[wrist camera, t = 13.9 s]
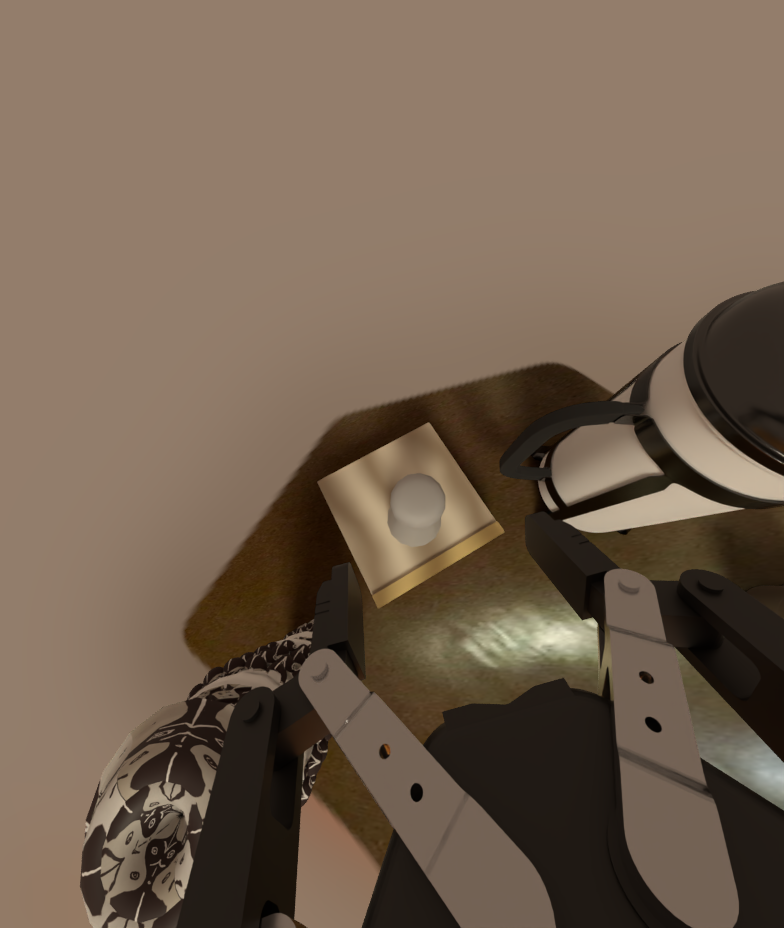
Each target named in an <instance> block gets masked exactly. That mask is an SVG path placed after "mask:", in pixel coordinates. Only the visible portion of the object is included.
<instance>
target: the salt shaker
mask: <svg viewBox="0 0 784 928" xmlns="http://www.w3.org/2000/svg"><path fill="white" fill-rule="evenodd" d="M445 498H446V496H445V494H444V491H443V489H442V487H441V485H440V484H439V483H438V482H437V481H436V480H435V479H434V478H432V477H431V476H428V475H425V474H421V473H416V474H409V475H407V476H405V477H404V478H402V479H401V480H399V481H398V482H397V484H396V485H395V487H394V489H393V490H392V492H391V499H390V506H391V507H390V509H389V510H388V521H387V523H388V526H389V529H390V532H391V535H392V536H394V537H395V538H396V539H397V540H398V541H399V542H400V543H402V544H405V545H408V546H411V547H417V546H423V545H426V544H427V543H429V542H430V541H432V540H433V539H434V538H435V537H436V535H437V534H438V532H439V530H440V528H441V516H442V514H443V512H444V510H445Z"/></svg>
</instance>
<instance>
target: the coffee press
mask: <svg viewBox="0 0 784 928" xmlns="http://www.w3.org/2000/svg"><path fill="white" fill-rule="evenodd" d="M636 379H637V380H636ZM632 382H633V383H632ZM631 383H632V384H631ZM626 387H627V388H626ZM625 388H626V389H625ZM621 391H622V392H621ZM620 392H621V393H620ZM615 396H616V397H615ZM610 400H611V401H610ZM577 427H578V428H577ZM569 429H572V430H570V431H569V432H568V433H567V434H565V435H564V436H563V437H562V438H561V439H559V440H558V441H557V442H556V443H554V444H553V445H551V446H541V445H542V444H544V443H545V442H546V441H547V440H548V439H550V438H551V437H553V436H555V435H557V434H559V433H561V432H564V431H566V430H569ZM573 430H574V431H573ZM572 431H573V432H572ZM567 435H568V436H567ZM566 436H567V437H566ZM562 439H563V440H562ZM561 440H562V441H561ZM550 449H551V450H550ZM549 450H550V451H549ZM547 451H549V452H548V453H547V454H544V453H545V452H547ZM530 455H531V456H532V457H533V458H534V459H536V460H539V461H542V462H541V464H540V467H539V468H538V467H525V466H520V464H521V463H522V462H523V461H525V460H526V459H527V458H528V457H529V456H530ZM500 472H501V473H502V474H503V475H505V476H507V477H511V478H517V479H527V480H538V485H539V490H540V493H541V496H542V498H543V500H544V502H545V504H546V505H547V507H548V508H549V509H550V511H548V512H547V514H548V515H549V516H550V517H551V518H552V519H553V520H554V521H555V520H559V519H560V520H562V521H564V522H566V523H568V524H570V525H572V526H573V527H574V528H576V529H579V530H582V531H587V532H595V533H601V532H610V531H617V532H619V533H621V534H624V535H626V534H627V533H628V532H629V531H630V530H631V529H632V528H635V527H641V526H647V525H653V524H658V523H664V522H670V521H676V520H682V519H688V518H694V517H699V516H705V515H711V514H717V513H723V512H729V511H735V510H740V509H768V508H775V507H781V506H784V282H780V283H777V284H773V285H770V286H767V287H764V288H762V289H759V290H757V291H752V292H747V293H743V294H740V295H737V296H734V297H732V298H730V299H728V300H726V301H724V302H722V303H720V304H719V305H717V306H716V307H715V308H713V309H712V310H711V311H710V312H709V313H707V315H705V316H704V317H703V318H702V319H701V320H700V321H699V322H698V323H697V324H696V325H695V326H694V328H693V329H692V331H691V332H690V334H689V336H688V338H687V339H686V340H685V341H683V342H681V343H679V344H677V345H675V346H674V347H672V348H670V349H669V350H667V351H666V352H665V353H664V354H662V355H661V356H660V357H659V358H657V359H656V360H655V361H654V362H653V363H651V364H650V365H649V366H648V367H647V368H645V369H644V370H643V371H642V372H641V373H640V374H638V375H637V376H636V377H634V378H633V379H632V380H631V381H629V383H627V384H626V385H625V386H623V387H622V388H621V389H620V390H619V391H617V392H616V393H615V394H614V395H613V396H611V397H610V398H609V399H608V400H607V401H598V402H588V403H582V404H577V405H572V406H568V407H565V408H562V409H559V410H556V411H554V412H551V413H549V414H547V415H545V416H543V417H541V418H539V419H538V420H536V421H535V422H533V423H532V424H531V425H530V426H529V427H527V428H526V429H525V430H524V431H523V432H522V433H521V435H520V436H519V437H518V438H517V439H516V440H515V441H514V442H513V443H512V445H511V446H510V447H509V448H508V449H507V450H506V452H505V453H504V454H503V455H502V457H501V459H500Z"/></svg>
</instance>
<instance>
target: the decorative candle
mask: <svg viewBox="0 0 784 928" xmlns="http://www.w3.org/2000/svg"><path fill="white" fill-rule="evenodd" d="M313 624H314V619H313V620H312V621H310V622H309V623H305V624H304V625H302V626H299V627H298V629H295V630H293V631H292V632H289V633H288V634H287V635H286V636H285V637H284V640H281V641H277V642H271V643H269V644H267V645H266V646H261V647H259V648H257V649H256V651H255V652H254V653H253V652H248V653H245V654H244V655H242V656H241V657H240V658H233V659H231V660H229V661H228V662H227V663H226V664H225V666H224V668H222V667H216V668H213V669H212V670H210V671H209V672H208V673H207V675H206V676H205V678H204V681H203V684H198V685H196V686H195V687H194V688H193V689H192V690H191V692H190V693H189V695H188V699H187V700H186V701H183V702H179V703H176V704H172V705H169V706H166V707H162V708H161V709H160V710H159V711H157V712H156V713H155V714H153V715H152V716H151V717H150V718H148V719H147V720H146V721H144V722H143V723H142V724H140V725H139V726H138V727H137V728H135V729H134V730H133V731H131V732H130V734H129V735H128V736H127V738H126V739H125V741H124V742H123V743H122V745H121V746H120V748H119V749H118V751H117V752H116V754H115V755H114V757H113V758H112V759H111V761H110V762H109V764H108V765H107V767H106V768H105V769H104V771H103V773H102V776H101V779H100V782H99V784H98V787H97V790H96V793H95V796H94V799H93V801H92V804H91V807H90V810H89V813H88V816H87V819H86V830H85V840H84V843H83V852H82V867H81V881H80V888H81V892H82V896H83V900H84V904H85V908H86V911H87V916H88V919H89V923H90V924H91V925H92V927H93V928H176V926H177V922H178V919H179V915H180V911H181V907H182V903H183V899H184V895H185V891H186V887H187V884H188V880H189V876H190V872H191V868H192V864H193V860H194V856H195V852H196V849H197V845H198V841H199V837H200V833H201V829H202V825H203V821H204V817H205V814H206V810H207V806H208V802H209V798H210V794H211V790H212V786H213V782H214V779H215V775H216V771H217V767H218V763H219V759H220V755H221V751H222V747H223V744H224V740H225V736H226V732H227V728H228V724H229V720H230V717H231V714H232V712H233V710H234V708H235V706H236V705H237V703H238V702H239V701H240V699H241V698H242V697H243V696H244V695H245V694H247V693H248V692H249V691H251V690H252V689H254V688H257V687H261V686H264V687H268V688H270V689H271V690H272V691H273V690H275V689H276V688H278V687H279V686H281V685H283V684H284V683H286V682H287V681H289V680H291V679H292V678H293V677H295V676H296V675H297V674H298V673H299V672H300V669H301V667H302V665H303V663H304V662H305V660H306V659H307V658H308V657H309V655H310V649H311V641H312V633H313ZM331 736H332V735H331V733H329V734H328V735H327V736H325V737H324V738H323V739H321V740H320V741H318V742H317V743H316V744H314V745H313V746H312V747H310V748H309V749H307V750H306V751H305V752H304V764H303V781H302V797H301V807H302V806H303V805H304V804H305V803H306V802H307V800H308V798H309V796H310V794H311V791H312V786H313V784H314V782H315V779H316V774H317V773H318V771H319V769H320V767H321V764H322V762H323V761H324V760H325V758H326V755H327V750H328V740H329V739H330V738H331Z"/></svg>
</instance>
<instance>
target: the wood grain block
mask: <svg viewBox="0 0 784 928" xmlns="http://www.w3.org/2000/svg"><path fill="white" fill-rule="evenodd" d="M416 473H421V474H425V475H428V476H431V477H432V478H434V479H435V480H436V481H437V482H438V483H439V484H440V485H441V487H442V489H443V491H444V494H445V496H446V498H445V510H444V512H443V514H442V516H441V528H440V530H439V532H438V534H437V535H436V537H435V538H434V539H433V540H432V541H430V542H429V543H427V544H426V545H423V546H417V547H411V546H408V545H405V544H402V543H400V542H399V541H398V540H397V539H396V538H395V537H394V536H392V535H391V532H390V529H389V526H388V523H387V521H388V510H389V509H390V507H391V506H390V499H391V492H392V490H393V489H394V487H395V485H396V484H397V482H398V481H399V480H401V479H402V478H404V477H405V476H407V475H409V474H416ZM317 483H318V485H319V487H320V489H321V491H322V493H323V495H324V497H325V499H326V501H327V503H328V505H329V507H330V510H331V512H332V514H333V516H334V518H335V520H336V522H337V524H338V526H339V528H340V530H341V532H342V534H343V536H344V538H345V540H346V542H347V544H348V546H349V549H350V551H351V553H352V555H353V557H354V559H355V561H356V563H357V565H358V567H359V569H360V571H361V573H362V575H363V577H364V579H365V581H366V583H367V585H368V588H369V590H370V592H371V594H372V597H373V599H374V601H375V603H376V605H377V607H378V609H379V608H380V607H382V606H383V605H385V604H387V603H388V602H390V601H392V600H393V599H395V598H397V597H398V596H400V595H402V594H403V593H405V592H407V591H408V590H410V589H412V588H413V587H415V586H417V585H418V584H420V583H421V582H423V581H425V580H426V579H428V578H430V577H431V576H433V575H435V574H436V573H438V572H440V571H441V570H443V569H445V568H446V567H448V566H450V565H451V564H453V563H455V562H456V561H458V560H459V559H461V558H463V557H464V556H466V555H468V554H469V553H471V552H473V551H474V550H476V549H478V548H479V547H481V546H483V545H484V544H486V543H488V542H489V541H491V540H493V539H494V538H496V537H497V536H499V535H501V534H502V533H504V530H503V529H502V527H501V526H500V524H499V523H498V521H496V520H495V519H494V517H493V516H492V514H491V513H490V512H489V510H488V509H487V507H486V506H485V504H484V503H483V501H482V500H481V498H480V497H479V495H478V494H477V492H476V491H475V489H474V488H473V486H472V485H471V483H470V482H469V480H468V479H467V477H466V476H465V475H464V473H463V472H462V470H461V469H460V467H459V466H458V464H457V463H456V461H455V460H454V458H453V457H452V455H451V454H450V452H449V451H448V449H447V448H446V446H445V445H444V443H443V442H442V441H441V439H440V438H439V436H438V435H437V433H436V432H435V430H434V429H433V427H432V426H431V424H430V423H429V422H428V423H426V424H425V425H423V426H421V427H419V428H417V429H415V430H413V431H411V432H409V433H408V434H406V435H404V436H402V437H400V438H398V439H396V440H394V441H392V442H391V443H389V444H387V445H385V446H383V447H381V448H379V449H377V450H376V451H374V452H372V453H370V454H368V455H366V456H364V457H362V458H360V459H359V460H357V461H355V462H353V463H351V464H349V465H347V466H345V467H343V468H342V469H340V470H338V471H336V472H334V473H332V474H330V475H328V476H327V477H325V478H323V479H321V480H319V481H317Z"/></svg>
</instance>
